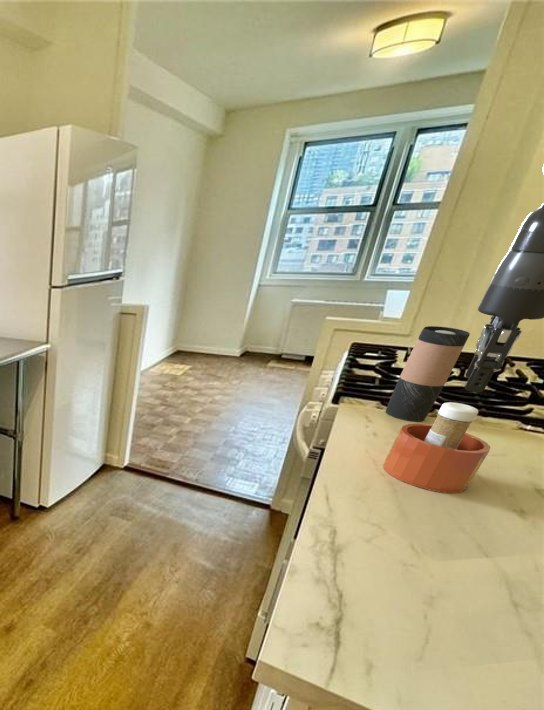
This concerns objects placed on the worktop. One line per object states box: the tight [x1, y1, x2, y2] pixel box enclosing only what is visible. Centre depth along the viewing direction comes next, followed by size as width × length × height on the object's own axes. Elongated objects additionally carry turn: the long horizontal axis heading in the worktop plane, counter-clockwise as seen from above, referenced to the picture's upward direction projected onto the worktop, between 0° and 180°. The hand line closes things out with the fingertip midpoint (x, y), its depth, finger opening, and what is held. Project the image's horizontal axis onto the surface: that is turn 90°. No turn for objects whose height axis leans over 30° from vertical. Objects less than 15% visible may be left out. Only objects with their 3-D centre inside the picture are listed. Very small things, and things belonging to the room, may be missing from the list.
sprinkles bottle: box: [424, 401, 479, 450], centre depth 86 cm, size 5×5×14 cm
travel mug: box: [385, 325, 471, 422], centre depth 108 cm, size 8×8×20 cm
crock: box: [382, 423, 491, 494], centre depth 87 cm, size 12×12×8 cm
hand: (472, 384), depth 81 cm, fingers open, 8 cm apart
